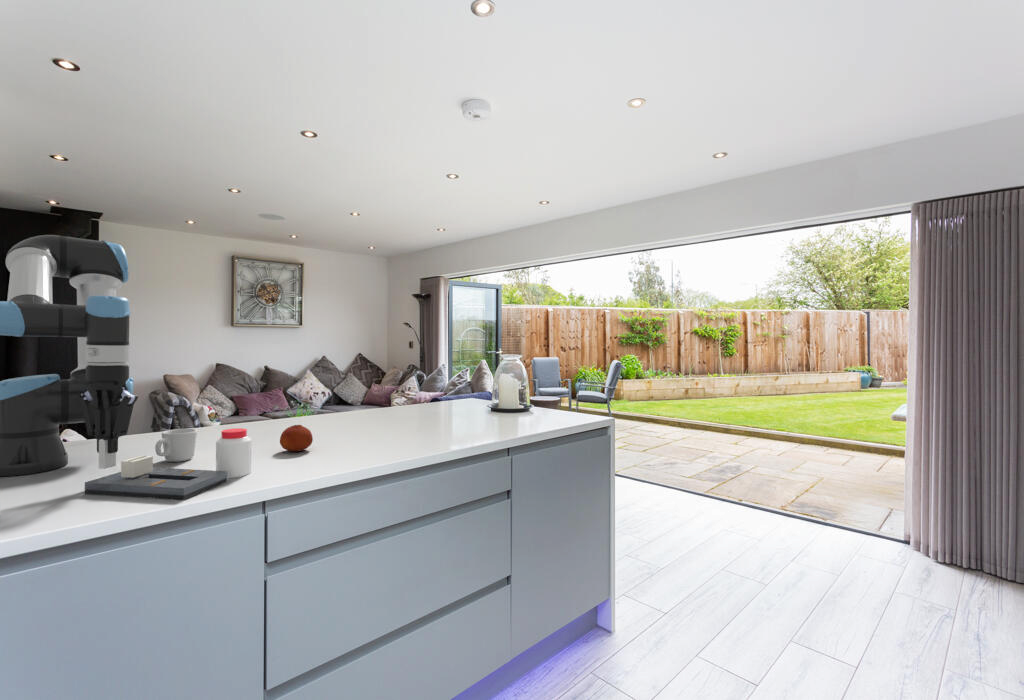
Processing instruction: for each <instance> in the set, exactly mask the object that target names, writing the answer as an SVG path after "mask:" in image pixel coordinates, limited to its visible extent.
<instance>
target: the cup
mask: <svg viewBox="0 0 1024 700" xmlns="http://www.w3.org/2000/svg"><path fill="white" fill-rule="evenodd" d="M197 436H198V430H197V429H196V428H176V429H175V428H174V429H167V430H165V431H163V432H162V433H161V439H158V441H156V443H155V446H154V449H155V453H156V455H157V456H158V457H164V459H165V460H166V461H167V462H170V463H177V462H178V463H179V462H185V461H190V460H191V459H193V458H194V456H195V451H196V443H197ZM162 445H163V446H162ZM162 447H163V452H162Z"/></svg>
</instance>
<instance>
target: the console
mask: <svg viewBox="0 0 1024 700" xmlns="http://www.w3.org/2000/svg"><path fill="white" fill-rule="evenodd" d="M143 475H149V478H135V477H134V478H132V477H121V471H119V472H116V473H111V474H109V475H106V476H101V477H98V478H95V479H92V480H89V481H85V482H84V495H93V496H94V495H95V496H97V495H98V496H112V497H113V496H114V497H126V498H142V499H144V498H146V499H159V500H161V499H162V500H176V501H177V500H178V501H185V500H188V499H191V498H192V497H194V496H197V495H199V494H202V493H204V492H206V491H209V490H211V489H213V488H217V487H218V486H220V485H223V484H225V483H227V482H228V478H227V471H216V470H210V469H209V470H207V469H192V468H191V469H189V468H188V469H187V468H173V467H154V466H153V471H152V472H149V473H146V474H143Z"/></svg>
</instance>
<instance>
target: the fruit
mask: <svg viewBox="0 0 1024 700" xmlns="http://www.w3.org/2000/svg"><path fill="white" fill-rule="evenodd" d="M313 441H314V439H313V434H312V432H311V430H310V429H308V428H307V427H305V426H303V425H302V424H294V425H290V426H288V427H286V429H284V430H283V431H282V433H280V438H279V445H280V446H281V447H282V449H284V450H286V451H289V452H293V453H295V452H301V451H305V450H306V449H308V448H309V447H311V445H312V443H313Z"/></svg>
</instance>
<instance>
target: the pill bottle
mask: <svg viewBox="0 0 1024 700" xmlns="http://www.w3.org/2000/svg"><path fill="white" fill-rule="evenodd" d="M247 432H248V429H247V428H239V427H238V428H235V427H234V428H228V429H223V430H221V437H220V438H218V439H217V441H216V442H215V471H227V479H233V478H240V477H245V476H249V475H250V474H251V473H252V454H253V453H252V446H253V444H252V438H251V437H250V436H248V434H247Z"/></svg>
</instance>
